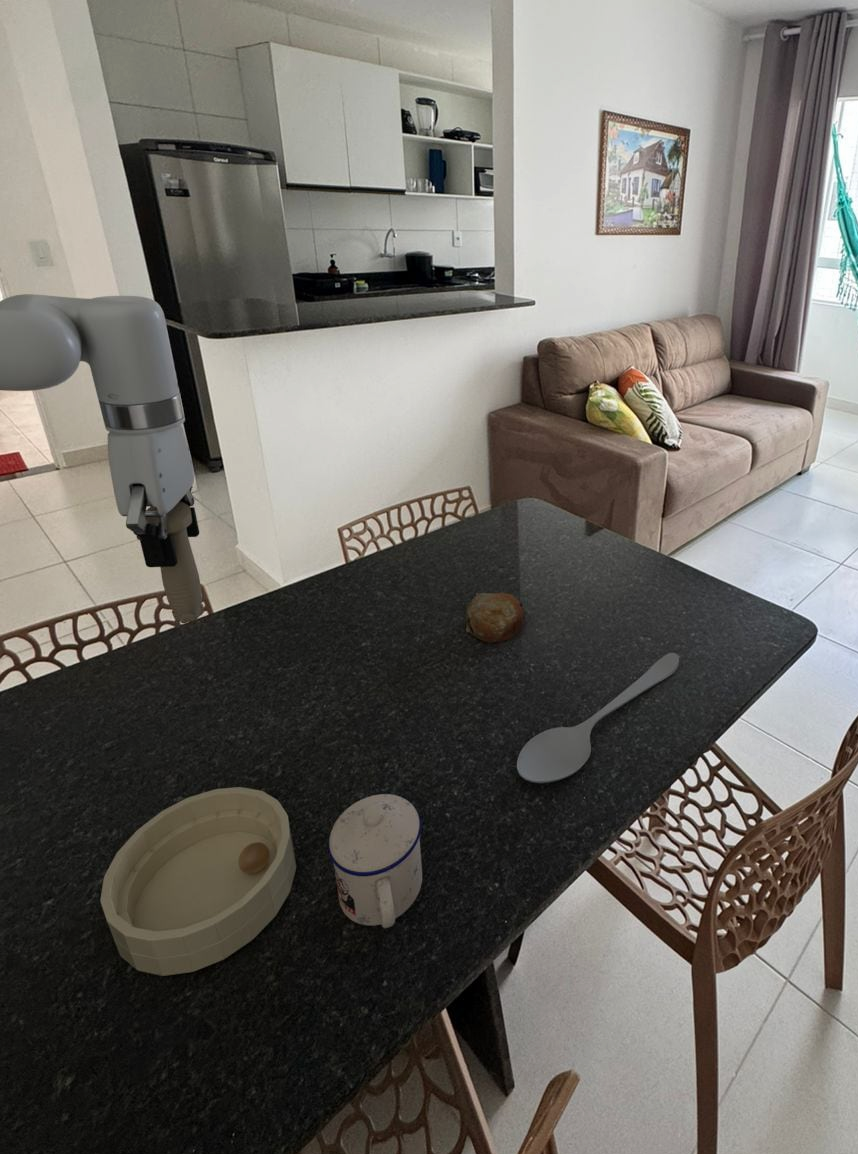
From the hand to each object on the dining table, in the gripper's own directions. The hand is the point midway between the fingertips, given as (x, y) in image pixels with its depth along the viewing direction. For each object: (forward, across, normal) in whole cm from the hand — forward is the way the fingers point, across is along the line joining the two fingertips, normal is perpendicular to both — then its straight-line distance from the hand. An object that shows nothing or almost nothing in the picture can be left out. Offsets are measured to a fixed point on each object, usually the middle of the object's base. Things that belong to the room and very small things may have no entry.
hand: (174, 549), depth 81 cm
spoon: (+27, +7, +55) cm, 62 cm away
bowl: (+27, +26, +8) cm, 39 cm away
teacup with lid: (+27, +29, +26) cm, 48 cm away
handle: (+10, 0, 0) cm, 10 cm away
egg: (+25, +24, +12) cm, 37 cm away
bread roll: (+27, -17, +40) cm, 51 cm away
